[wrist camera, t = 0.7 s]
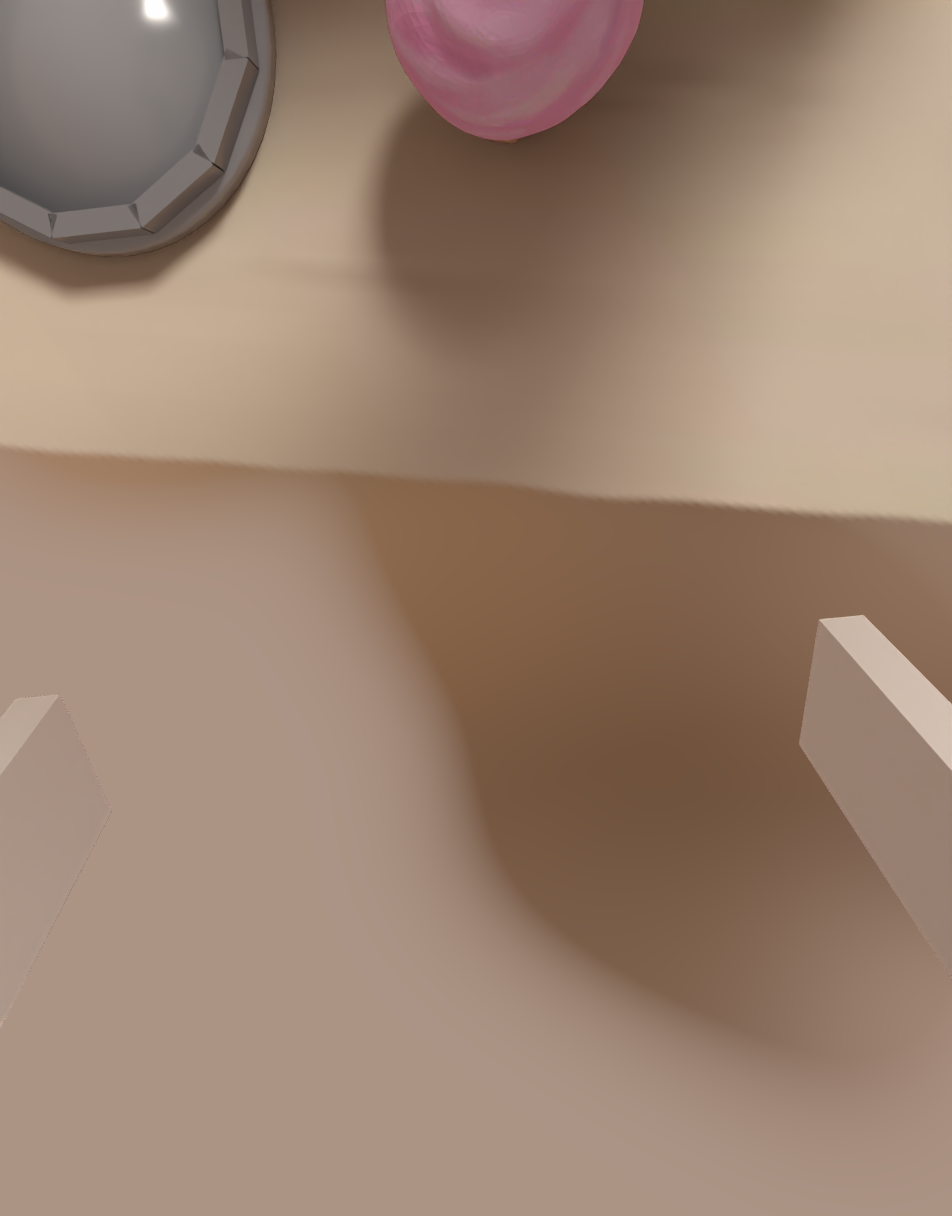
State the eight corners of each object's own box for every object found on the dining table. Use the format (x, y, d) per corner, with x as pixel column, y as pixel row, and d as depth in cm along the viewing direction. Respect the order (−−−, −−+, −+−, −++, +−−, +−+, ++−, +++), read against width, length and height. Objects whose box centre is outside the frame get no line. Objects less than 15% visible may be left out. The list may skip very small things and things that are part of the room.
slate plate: (-33, -260, 31) (-80, -313, 29) (334, -72, 32) (317, -109, 29) (-121, 158, 36) (-167, 141, 34) (200, 319, 36) (176, 313, 34)
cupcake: (492, 226, 34) (466, 155, 24) (380, 48, 33) (305, -102, 23) (665, 92, 32) (711, -45, 22) (553, -105, 31) (550, -339, 21)
